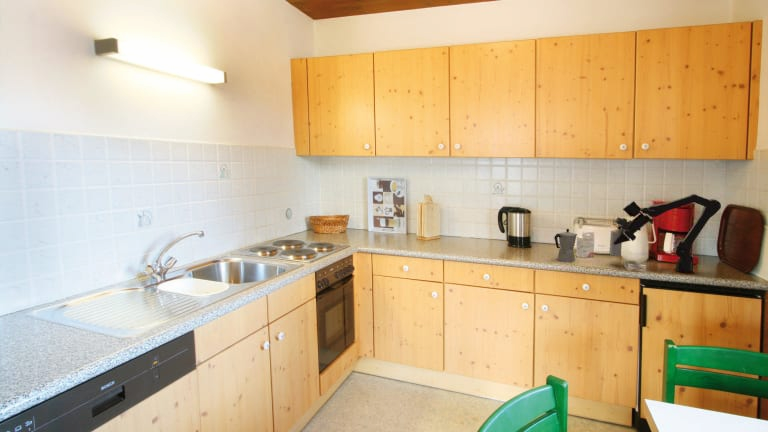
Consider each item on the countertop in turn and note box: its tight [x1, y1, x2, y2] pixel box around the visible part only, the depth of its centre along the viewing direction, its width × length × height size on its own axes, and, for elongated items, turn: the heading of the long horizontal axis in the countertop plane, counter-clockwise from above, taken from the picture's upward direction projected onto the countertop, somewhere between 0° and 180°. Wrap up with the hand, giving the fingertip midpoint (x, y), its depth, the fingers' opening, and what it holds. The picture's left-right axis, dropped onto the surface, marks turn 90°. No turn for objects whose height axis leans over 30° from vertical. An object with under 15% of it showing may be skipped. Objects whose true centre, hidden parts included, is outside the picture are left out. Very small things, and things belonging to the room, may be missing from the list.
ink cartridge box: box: [575, 231, 595, 259], centre depth 261 cm, size 9×5×15 cm, turn 105°
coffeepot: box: [553, 228, 578, 263], centre depth 251 cm, size 15×9×18 cm, turn 110°
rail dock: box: [623, 260, 647, 273], centre depth 233 cm, size 8×9×3 cm
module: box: [609, 228, 623, 258], centre depth 239 cm, size 4×5×14 cm
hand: (612, 243), depth 240 cm, fingers closed on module, 5 cm apart
